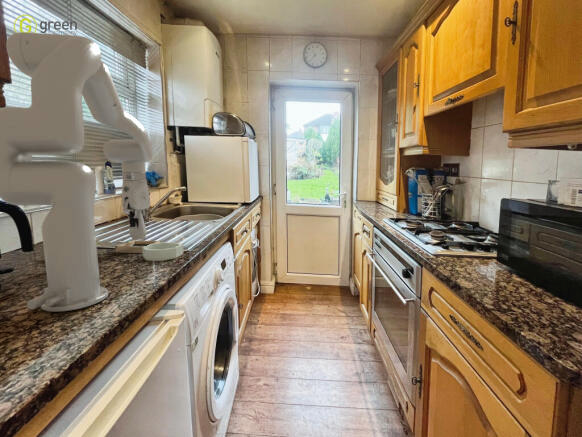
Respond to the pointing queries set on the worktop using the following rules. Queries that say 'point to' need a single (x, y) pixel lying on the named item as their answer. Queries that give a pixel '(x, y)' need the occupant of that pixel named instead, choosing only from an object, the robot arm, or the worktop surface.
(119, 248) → the tray
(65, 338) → the worktop surface
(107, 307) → the worktop surface
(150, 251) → the holder ring
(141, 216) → the salt shaker
